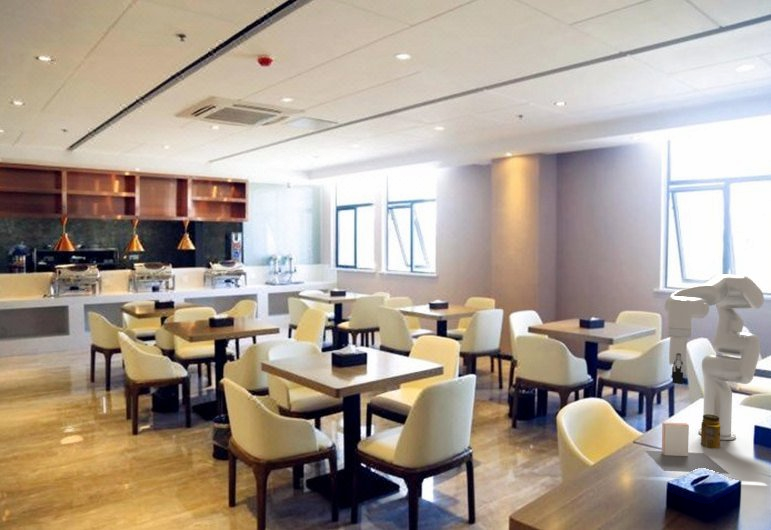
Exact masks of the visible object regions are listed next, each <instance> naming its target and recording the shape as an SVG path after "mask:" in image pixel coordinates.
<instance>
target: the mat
mask: <svg viewBox="0 0 771 530" xmlns="http://www.w3.org/2000/svg"><path fill="white" fill-rule="evenodd" d="M645 452H646V453H647V455H649V456H650V457H651V459H653V461H654V462H655V463H656V464H657V465H658V466H659V467H660V468H661V469H662V470H663V471H666V472H668V471H669V472H683V473H684V472H685V473H686V472H687V473H692V472H691V471H693V470H695V469H698V468H706V469H709V470H713V471H715V472H719V473H718V474H728V475H729V474H730V473H729V472H728V471H727V470H725V469H724V468H723V467H722V466H721V465H720V464H718V463H717V462H716V461H714V460H713V458H711V457H710V456H709V455H708V454H706V453H705V452H689V451H688V456H668V455H663V454H662V450H661V451H660V450H645Z"/></svg>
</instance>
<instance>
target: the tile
mask: <svg viewBox="0 0 771 530" xmlns="http://www.w3.org/2000/svg"><path fill="white" fill-rule="evenodd" d="M689 427H690V425H689V424H688V423H687V422H686V423H682V422H662V427H661V428H662V430H661V435H662V436H661V451H662V454H663V455H668V456H688V452H689V434H690V432H689V431H690V430H689Z"/></svg>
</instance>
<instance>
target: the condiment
mask: <svg viewBox="0 0 771 530" xmlns="http://www.w3.org/2000/svg"><path fill="white" fill-rule="evenodd" d="M700 424H701V427H700V428H701V434H700V445H701V446H702V447H704V448H707V449H719V448H721V440H720V424H719V417H718V416H715V415H710V414H706V415H703V416H702V422H701V423H700Z"/></svg>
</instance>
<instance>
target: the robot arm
mask: <svg viewBox="0 0 771 530" xmlns="http://www.w3.org/2000/svg"><path fill="white" fill-rule="evenodd" d="M764 300H765V297H764V294H763V292H762V290H761V288H760V287H759V286H758V285H757V284H756V283H755V282H754V281H753V280H752V279H751V278H749V277H747V275H736V274H734V275H733V274H718V275H714V276H713V277H711V278H710V279H708V280H707V281H705V282H703V283H702V284H700V285H696V286H691V287H688V288H682V289H680V290H677V291H675V292H673V293H672V294H671V295H669V296H668V297H667V298H666V300H665V303H664V311H665V313H666V314H667V327H666V329H667V330H666V337H668V338H669V347H668V349H669V350H668V351H669V352H668V354H669V355H668V364H669V365H670V366H672V368H671V369H672V370H671V373H672V374H671V377H672V384H676V385H677V384H679V385H682V384H684V372H683V371H684V369H683V368H684V366H685V364H686V358H687V345H688V343H687V342H688V339H691V338H692V319H695V320H699V319H703V318H705V317H706V316H707V315H708V314H709V312H710V306H714V305H715V306H716V309H717V313H718V314H717V315H718V323H717V326H716V330H715V332H714V333H715V334H714V337H713V341H712V348H713V350H714V351H715V352H716V353H718V354H708V355H706V356H704V358H703V359H702V362H701V371H702V376H703V377H702V378H703V415H706V414H710V415H715V416H718V417H719V424H720V441H731V440H735V439H736V438H737V436H736V433H735V432H733V431H732V412H733V411H732V410H733V409H732V407H733V390H732V388H731V386H730V385H729V383H728V382H730V383H735V384H741V385H747V384H750V383H751V382H752V381H753V379H754V375H755V373H756V368H757V365H758V361H759V357H760V354H761V339H760V338H759V337H758V336H757V335H756V334H755V333H751V332H750V333H749V332H743V330H744V329H743V328H744V320H743V318H742V316H741V314H739V313H738V311H737V310H736V309H740V310H751V311H752V310H754V311H755V310H759V309H761V307H762V306H763V305H764V302H765V301H764ZM734 356H735V357H734ZM698 433H699V434H700V435H701V427H699V428H698Z"/></svg>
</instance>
